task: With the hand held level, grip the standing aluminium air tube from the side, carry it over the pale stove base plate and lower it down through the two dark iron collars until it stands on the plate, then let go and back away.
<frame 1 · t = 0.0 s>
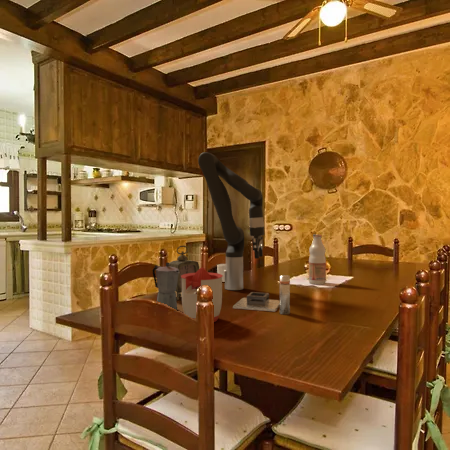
hand: (258, 257, 189), 17 cm above the table, tool pointing down, fingers open, 8 cm apart
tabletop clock: (182, 298, 174), on the table
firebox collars: (258, 305, 158), on the table
fruit juice: (317, 283, 208), on the table
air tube: (284, 313, 145), on the table
citrus juicer: (201, 321, 135), on the table
white cup: (223, 282, 215), on the table
moka pot: (165, 310, 151), on the table
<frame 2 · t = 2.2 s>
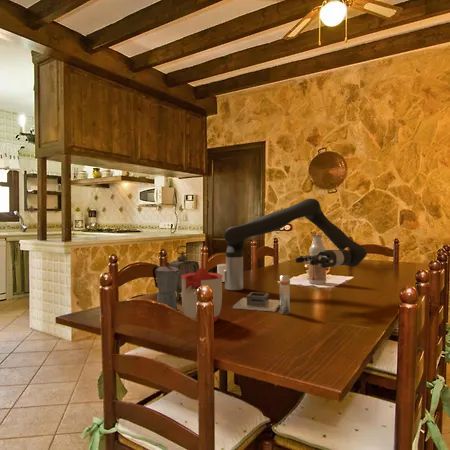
hand: (303, 261, 150), 20 cm above the table, tool horizontal, fingers open, 8 cm apart
nothing on the table moved.
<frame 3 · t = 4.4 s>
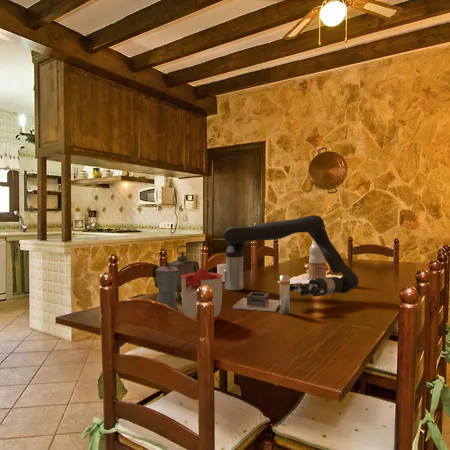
hand: (293, 290, 148), 8 cm above the table, tool horizontal, fingers open, 8 cm apart
nothing on the table moved.
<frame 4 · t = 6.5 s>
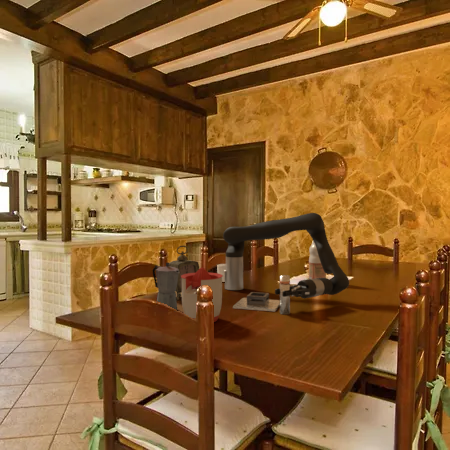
hand: (279, 292, 144), 9 cm above the table, tool horizontal, fingers closed on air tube, 4 cm apart
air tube: (284, 313, 145), on the table, touching gripper
everything else where it was.
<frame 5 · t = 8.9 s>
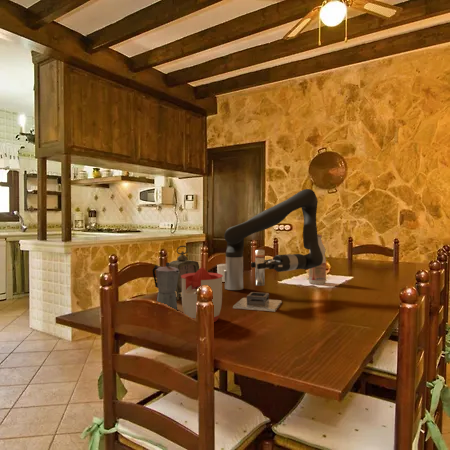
hand: (254, 265, 155), 18 cm above the table, tool horizontal, fingers closed on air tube, 4 cm apart
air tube: (259, 284, 156), point 9 cm above the table, touching gripper
everything else where it was.
when the fingers open (10 cm above the table, at t = 11.3 s): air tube stays where it is, resting on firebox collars.
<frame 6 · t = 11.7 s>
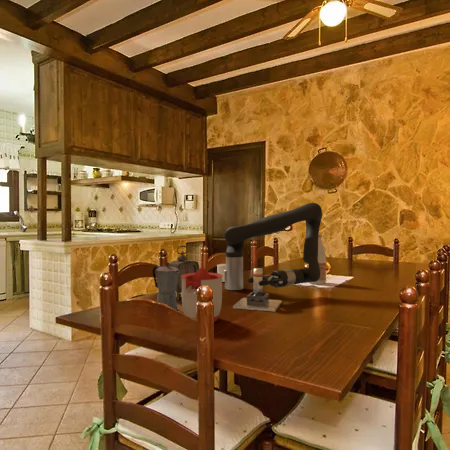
hand: (254, 281, 157), 10 cm above the table, tool horizontal, fingers open, 7 cm apart
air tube: (258, 303, 158), point 1 cm above the table, touching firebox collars
everything else where it was.
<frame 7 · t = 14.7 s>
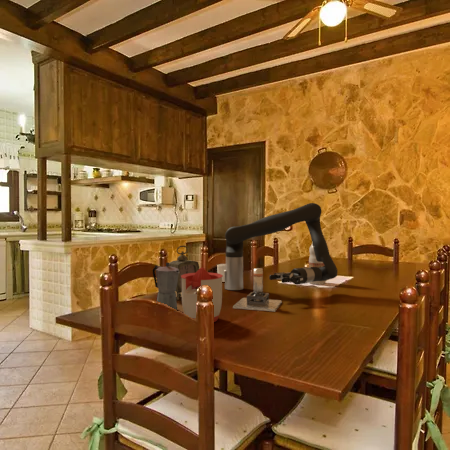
hand: (275, 278, 163), 11 cm above the table, tool horizontal, fingers open, 8 cm apart
nothing on the table moved.
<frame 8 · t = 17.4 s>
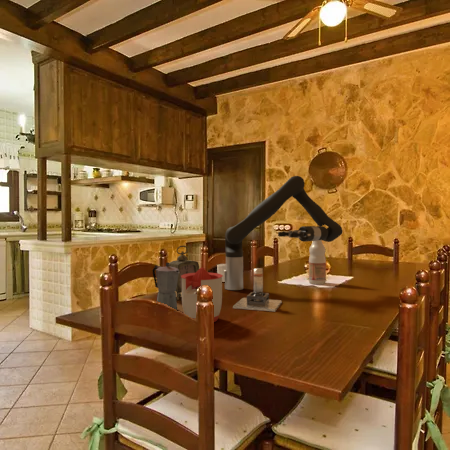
hand: (284, 234, 171), 30 cm above the table, tool horizontal, fingers open, 8 cm apart
nothing on the table moved.
at the end: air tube 0.1 cm off-centre on the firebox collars, point 1.0 cm above the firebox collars's base; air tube tilted 1°; the gripper is holding nothing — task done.
